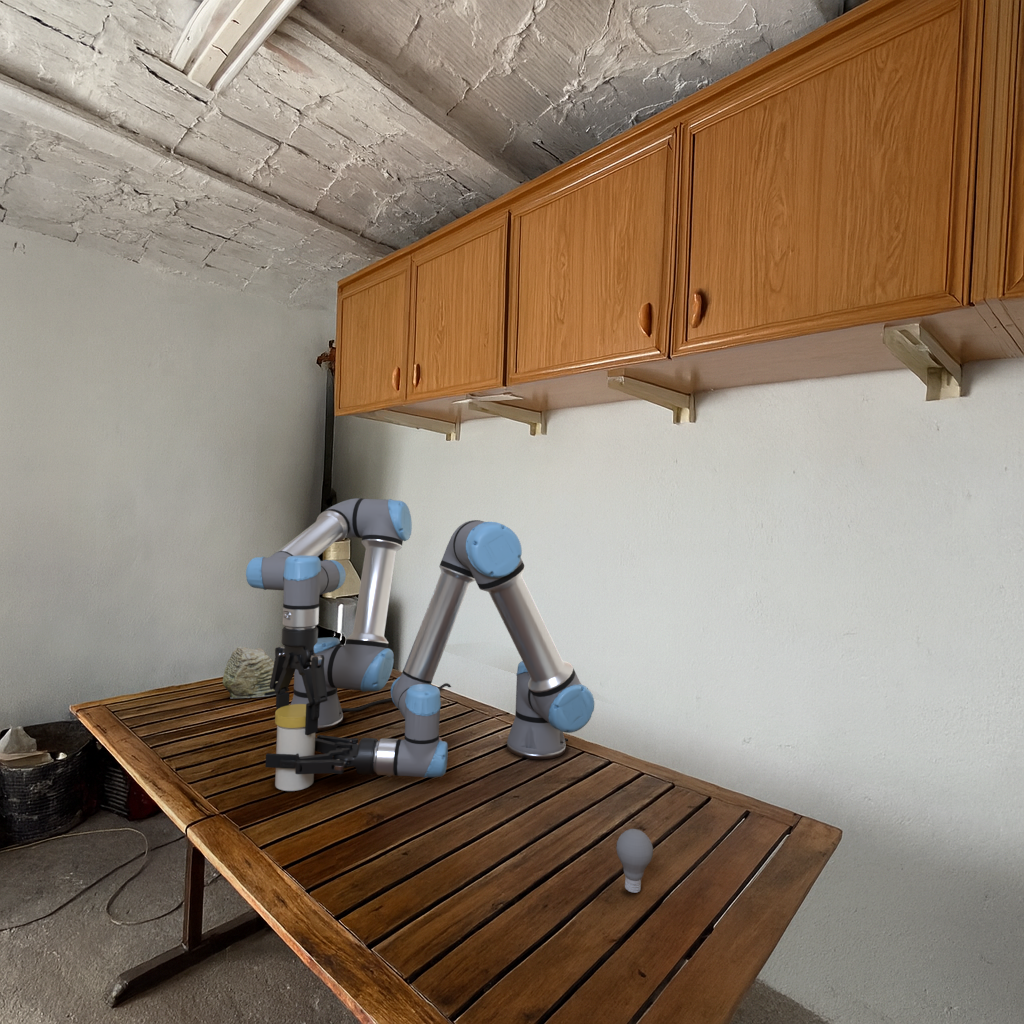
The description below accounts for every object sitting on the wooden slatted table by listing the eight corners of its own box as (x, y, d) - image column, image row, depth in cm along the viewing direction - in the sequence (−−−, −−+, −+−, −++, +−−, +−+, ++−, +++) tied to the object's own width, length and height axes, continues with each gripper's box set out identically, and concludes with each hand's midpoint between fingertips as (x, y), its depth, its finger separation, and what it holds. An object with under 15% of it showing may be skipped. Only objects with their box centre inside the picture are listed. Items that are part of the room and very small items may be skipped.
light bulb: (610, 879, 108) (613, 822, 108) (644, 879, 109) (647, 822, 109) (619, 902, 102) (622, 840, 102) (655, 901, 103) (658, 840, 103)
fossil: (218, 695, 195) (220, 647, 195) (278, 685, 208) (279, 640, 207) (228, 703, 189) (230, 653, 188) (289, 692, 201) (290, 645, 201)
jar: (300, 771, 145) (302, 705, 145) (321, 782, 140) (323, 714, 140) (267, 782, 139) (270, 714, 139) (288, 794, 134) (291, 723, 134)
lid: (268, 726, 135) (268, 716, 135) (284, 712, 144) (284, 702, 144) (309, 729, 135) (310, 718, 135) (323, 714, 144) (324, 705, 144)
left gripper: (254, 621, 142) (251, 721, 142) (319, 636, 130) (315, 745, 130) (283, 617, 148) (279, 712, 149) (347, 631, 136) (343, 734, 137)
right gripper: (365, 795, 129) (254, 790, 129) (385, 754, 150) (290, 750, 150) (366, 759, 129) (255, 754, 129) (387, 722, 150) (291, 718, 150)
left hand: (296, 727), depth 140 cm, fingers open, 9 cm apart
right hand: (274, 752), depth 140 cm, fingers closed on jar, 8 cm apart
